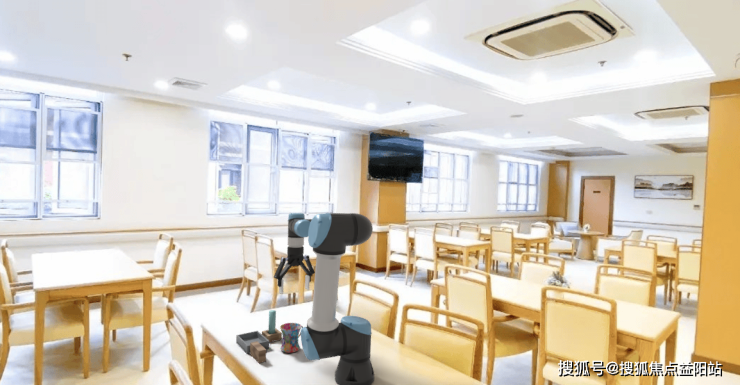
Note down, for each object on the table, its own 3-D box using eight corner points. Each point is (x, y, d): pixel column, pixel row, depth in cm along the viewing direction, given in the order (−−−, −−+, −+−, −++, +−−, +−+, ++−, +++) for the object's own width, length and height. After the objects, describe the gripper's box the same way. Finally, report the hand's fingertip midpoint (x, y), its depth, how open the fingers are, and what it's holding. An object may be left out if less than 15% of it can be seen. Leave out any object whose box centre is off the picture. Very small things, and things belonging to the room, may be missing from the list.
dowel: (276, 338, 182) (277, 311, 182) (269, 340, 180) (270, 312, 180) (273, 336, 185) (274, 309, 184) (267, 337, 183) (267, 310, 183)
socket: (281, 339, 182) (281, 332, 182) (267, 342, 178) (267, 336, 178) (275, 334, 187) (275, 328, 187) (261, 337, 183) (261, 331, 183)
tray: (269, 348, 171) (269, 340, 171) (246, 353, 165) (247, 345, 165) (257, 337, 182) (257, 330, 182) (236, 342, 176) (236, 335, 176)
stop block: (265, 361, 159) (266, 349, 159) (258, 363, 157) (259, 351, 157) (256, 352, 167) (257, 341, 167) (250, 354, 165) (250, 342, 165)
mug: (289, 356, 164) (290, 332, 164) (275, 350, 170) (275, 326, 169) (309, 347, 174) (310, 324, 174) (295, 342, 179) (295, 319, 179)
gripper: (314, 243, 190) (313, 285, 190) (267, 246, 174) (265, 293, 174) (322, 245, 184) (321, 289, 184) (274, 249, 168) (273, 297, 168)
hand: (294, 291), depth 179 cm, fingers open, 13 cm apart
